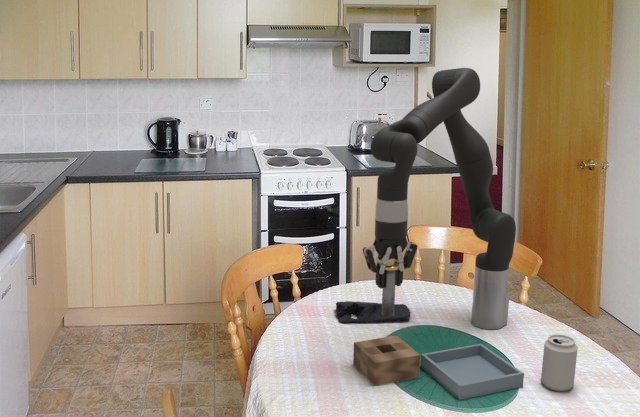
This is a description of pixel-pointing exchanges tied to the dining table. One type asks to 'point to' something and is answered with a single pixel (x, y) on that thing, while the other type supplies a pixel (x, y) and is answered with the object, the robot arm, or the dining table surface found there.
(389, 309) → the pin
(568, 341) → the can
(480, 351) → the tray
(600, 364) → the dining table surface
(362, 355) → the pin block
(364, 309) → the dark slate chunk
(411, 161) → the robot arm
